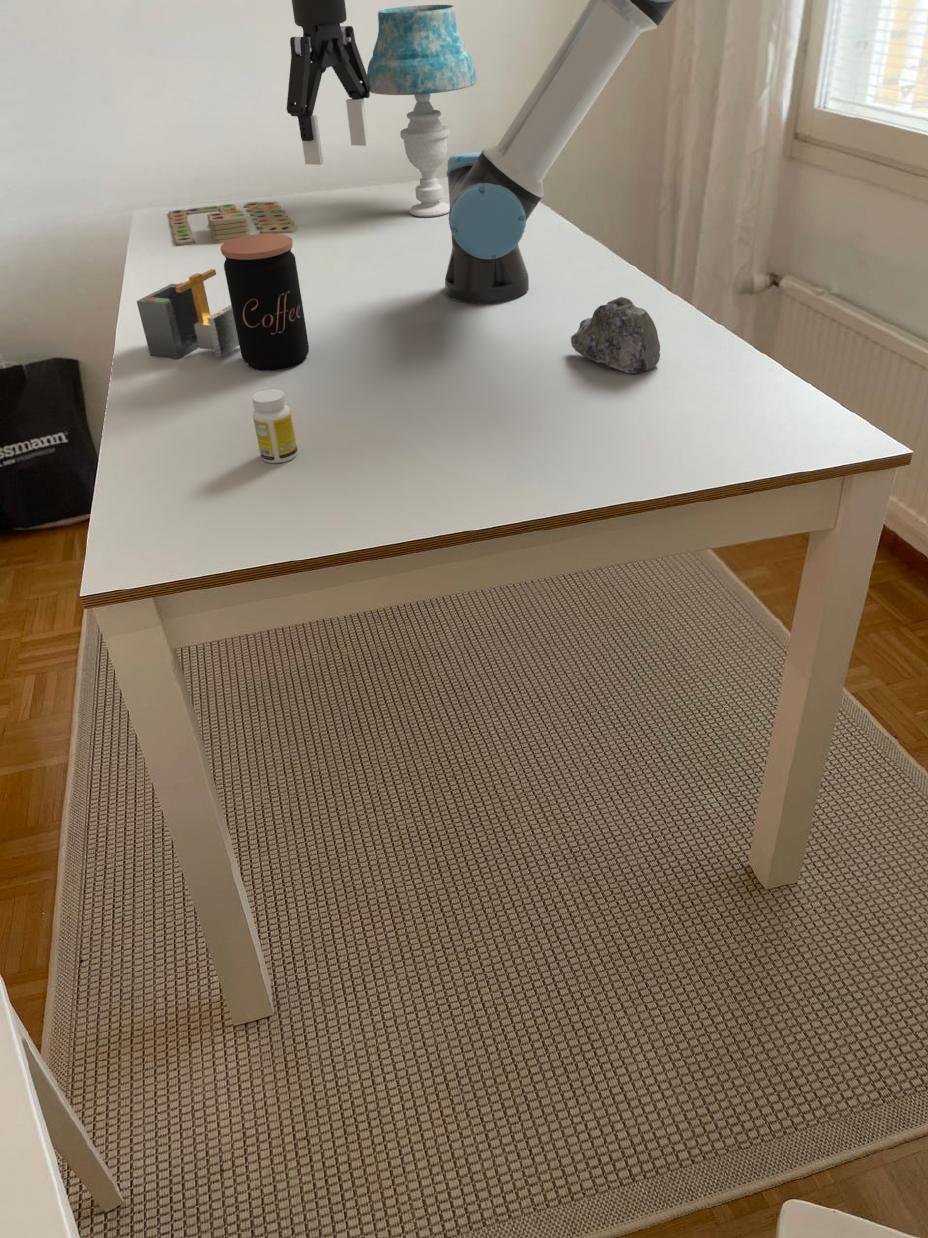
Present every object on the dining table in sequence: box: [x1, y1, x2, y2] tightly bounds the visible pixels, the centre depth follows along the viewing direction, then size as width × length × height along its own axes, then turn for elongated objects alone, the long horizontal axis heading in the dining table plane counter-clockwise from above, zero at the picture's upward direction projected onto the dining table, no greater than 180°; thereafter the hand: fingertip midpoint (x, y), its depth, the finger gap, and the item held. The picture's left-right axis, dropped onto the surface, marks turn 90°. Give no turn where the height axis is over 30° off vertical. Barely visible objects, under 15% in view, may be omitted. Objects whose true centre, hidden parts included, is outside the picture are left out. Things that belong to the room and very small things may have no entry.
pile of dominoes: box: [168, 201, 299, 247], centre depth 228 cm, size 35×27×6 cm
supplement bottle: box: [252, 388, 298, 464], centre depth 125 cm, size 5×5×8 cm
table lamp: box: [366, 4, 478, 218], centre depth 214 cm, size 24×24×40 cm
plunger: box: [176, 268, 240, 357], centre depth 156 cm, size 6×9×11 cm, turn 156°
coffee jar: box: [220, 233, 310, 372], centre depth 151 cm, size 11×11×18 cm
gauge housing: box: [136, 282, 200, 360], centre depth 160 cm, size 6×9×9 cm, turn 156°
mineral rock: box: [570, 296, 661, 375], centre depth 145 cm, size 13×11×10 cm
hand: (337, 154), depth 152 cm, fingers open, 13 cm apart
